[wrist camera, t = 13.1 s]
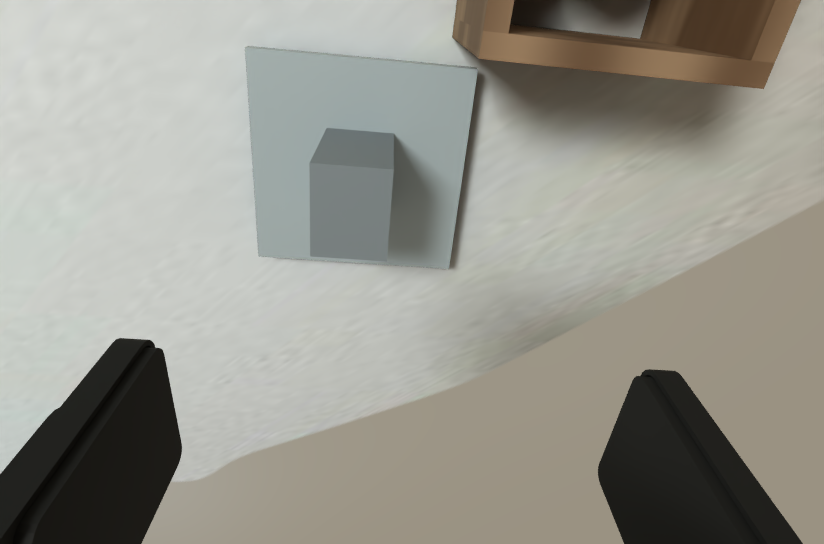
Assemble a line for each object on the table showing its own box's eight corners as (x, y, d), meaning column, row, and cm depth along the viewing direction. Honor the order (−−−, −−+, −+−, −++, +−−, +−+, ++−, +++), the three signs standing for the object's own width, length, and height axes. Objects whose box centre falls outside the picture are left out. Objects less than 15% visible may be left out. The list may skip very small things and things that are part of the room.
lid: (473, 65, 30) (500, 90, 22) (446, 256, 36) (460, 328, 29) (253, 44, 29) (202, 63, 21) (264, 244, 35) (228, 314, 28)
